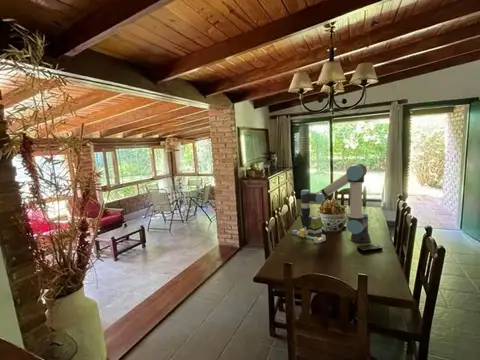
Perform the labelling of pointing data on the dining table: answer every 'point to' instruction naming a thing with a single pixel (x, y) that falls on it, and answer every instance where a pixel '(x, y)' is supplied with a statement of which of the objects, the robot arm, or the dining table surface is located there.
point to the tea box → (315, 225)
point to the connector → (294, 232)
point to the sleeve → (302, 233)
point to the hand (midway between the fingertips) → (306, 233)
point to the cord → (309, 237)
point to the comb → (319, 239)
